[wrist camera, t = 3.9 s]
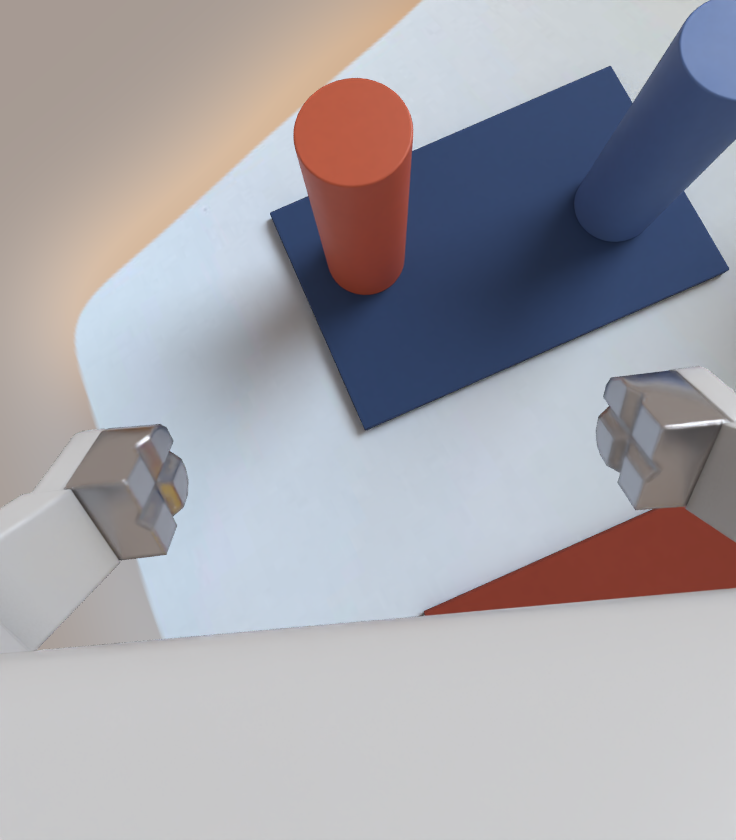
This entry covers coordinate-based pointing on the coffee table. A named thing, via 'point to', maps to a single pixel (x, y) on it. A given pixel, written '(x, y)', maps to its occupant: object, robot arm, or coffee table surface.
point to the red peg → (358, 179)
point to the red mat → (616, 566)
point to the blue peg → (666, 129)
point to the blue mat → (496, 256)
